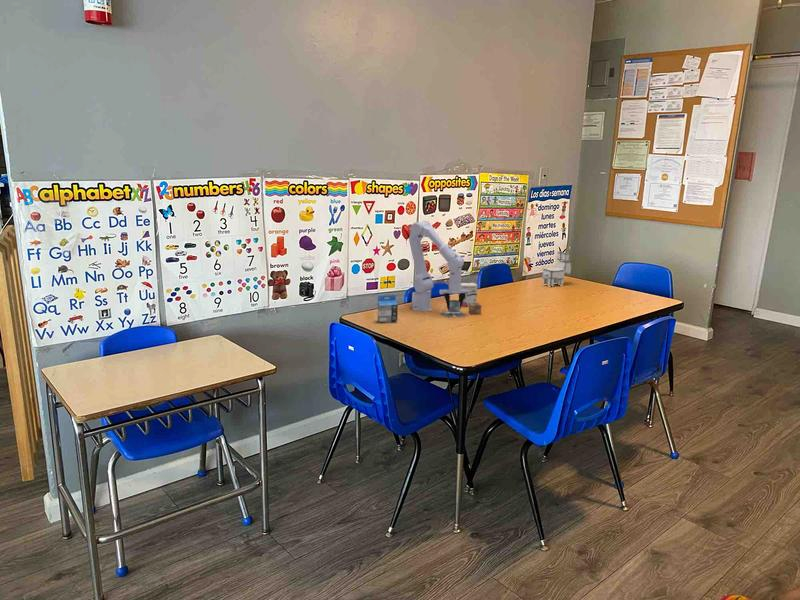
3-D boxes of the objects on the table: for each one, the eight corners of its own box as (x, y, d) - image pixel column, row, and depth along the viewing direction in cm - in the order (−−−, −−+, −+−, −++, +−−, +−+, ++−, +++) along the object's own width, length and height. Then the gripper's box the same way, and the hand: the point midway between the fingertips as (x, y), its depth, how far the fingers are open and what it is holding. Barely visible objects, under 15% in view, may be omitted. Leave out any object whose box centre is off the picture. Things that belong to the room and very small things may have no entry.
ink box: (460, 307, 307) (461, 284, 304) (458, 304, 312) (459, 282, 309) (476, 307, 308) (477, 284, 305) (474, 304, 313) (475, 282, 310)
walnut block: (470, 315, 293) (471, 305, 292) (468, 312, 298) (469, 302, 296) (480, 315, 293) (481, 305, 292) (478, 312, 298) (478, 302, 297)
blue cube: (449, 312, 289) (449, 302, 288) (447, 309, 294) (448, 300, 293) (459, 312, 290) (460, 302, 289) (457, 309, 295) (458, 300, 294)
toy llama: (538, 285, 362) (541, 252, 357) (560, 282, 370) (563, 251, 365) (547, 287, 356) (549, 254, 351) (569, 285, 364) (572, 253, 359)
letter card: (445, 317, 287) (445, 317, 287) (441, 312, 297) (441, 311, 297) (465, 317, 288) (465, 317, 288) (461, 311, 298) (461, 311, 298)
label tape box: (379, 323, 275) (379, 297, 272) (377, 320, 279) (377, 295, 276) (397, 322, 278) (398, 296, 275) (395, 319, 282) (395, 294, 279)
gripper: (441, 283, 284) (440, 310, 287) (471, 283, 285) (470, 310, 289) (439, 279, 291) (438, 306, 294) (468, 280, 292) (467, 306, 295)
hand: (453, 308), depth 292 cm, fingers closed on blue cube, 5 cm apart
